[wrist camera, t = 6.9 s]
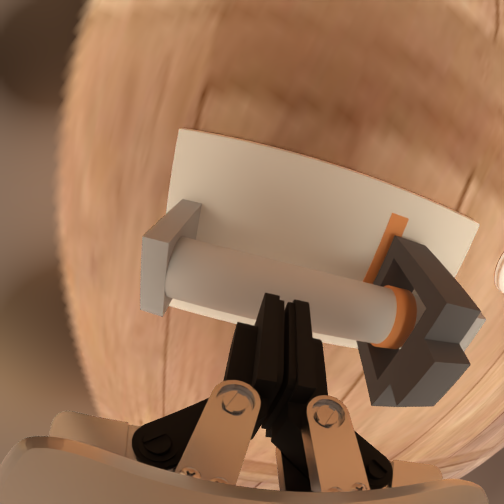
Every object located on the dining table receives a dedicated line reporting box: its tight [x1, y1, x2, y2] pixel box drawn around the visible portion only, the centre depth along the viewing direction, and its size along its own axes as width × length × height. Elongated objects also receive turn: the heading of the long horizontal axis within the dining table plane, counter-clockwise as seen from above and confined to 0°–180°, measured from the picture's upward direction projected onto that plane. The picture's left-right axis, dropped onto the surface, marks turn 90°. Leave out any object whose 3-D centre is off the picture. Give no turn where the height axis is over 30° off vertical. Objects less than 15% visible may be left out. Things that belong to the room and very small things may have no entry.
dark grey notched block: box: [356, 235, 481, 407], centre depth 13 cm, size 2×7×8 cm, turn 167°
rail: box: [140, 128, 486, 351], centre depth 15 cm, size 20×12×7 cm, turn 77°
